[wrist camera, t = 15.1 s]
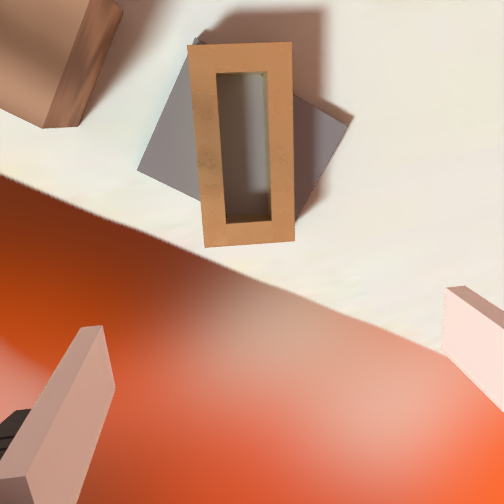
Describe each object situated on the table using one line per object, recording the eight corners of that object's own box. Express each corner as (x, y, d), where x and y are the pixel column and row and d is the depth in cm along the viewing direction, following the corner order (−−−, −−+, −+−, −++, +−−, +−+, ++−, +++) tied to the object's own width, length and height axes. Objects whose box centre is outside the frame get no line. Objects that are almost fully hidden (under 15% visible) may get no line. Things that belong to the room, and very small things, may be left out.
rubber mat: (195, 39, 34) (195, 37, 33) (344, 126, 38) (347, 126, 37) (138, 168, 37) (136, 170, 36) (281, 238, 40) (283, 241, 39)
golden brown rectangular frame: (285, 48, 34) (291, 41, 31) (288, 232, 39) (294, 241, 36) (188, 51, 34) (187, 45, 31) (205, 238, 39) (204, 247, 36)
